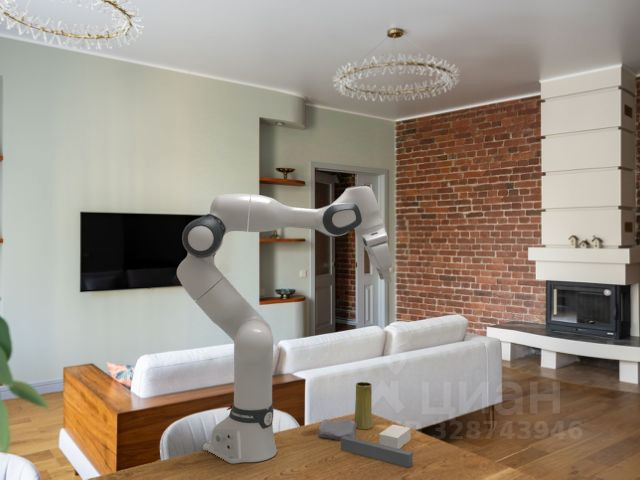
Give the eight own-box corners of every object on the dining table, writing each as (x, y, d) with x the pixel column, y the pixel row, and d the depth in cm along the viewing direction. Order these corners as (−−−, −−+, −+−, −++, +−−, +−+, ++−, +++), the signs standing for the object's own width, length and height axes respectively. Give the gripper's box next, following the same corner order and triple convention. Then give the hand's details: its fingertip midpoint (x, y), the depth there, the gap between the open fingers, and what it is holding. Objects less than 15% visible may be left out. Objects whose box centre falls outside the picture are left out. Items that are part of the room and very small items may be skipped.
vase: (360, 422, 188) (360, 380, 188) (375, 425, 184) (376, 383, 184) (350, 427, 183) (351, 384, 183) (366, 431, 179) (367, 387, 179)
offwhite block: (379, 447, 167) (379, 433, 167) (392, 436, 175) (392, 424, 175) (397, 451, 164) (397, 438, 163) (410, 440, 172) (410, 428, 172)
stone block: (355, 447, 171) (356, 429, 180) (354, 433, 170) (355, 416, 179) (317, 446, 172) (320, 429, 182) (316, 432, 171) (319, 416, 181)
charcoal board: (340, 449, 163) (340, 438, 163) (344, 447, 166) (345, 435, 166) (408, 467, 151) (409, 455, 151) (412, 464, 153) (412, 452, 153)
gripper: (358, 238, 175) (371, 280, 175) (367, 241, 154) (381, 288, 155) (377, 232, 175) (389, 274, 176) (388, 234, 155) (402, 281, 155)
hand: (385, 280), depth 165 cm, fingers open, 8 cm apart
